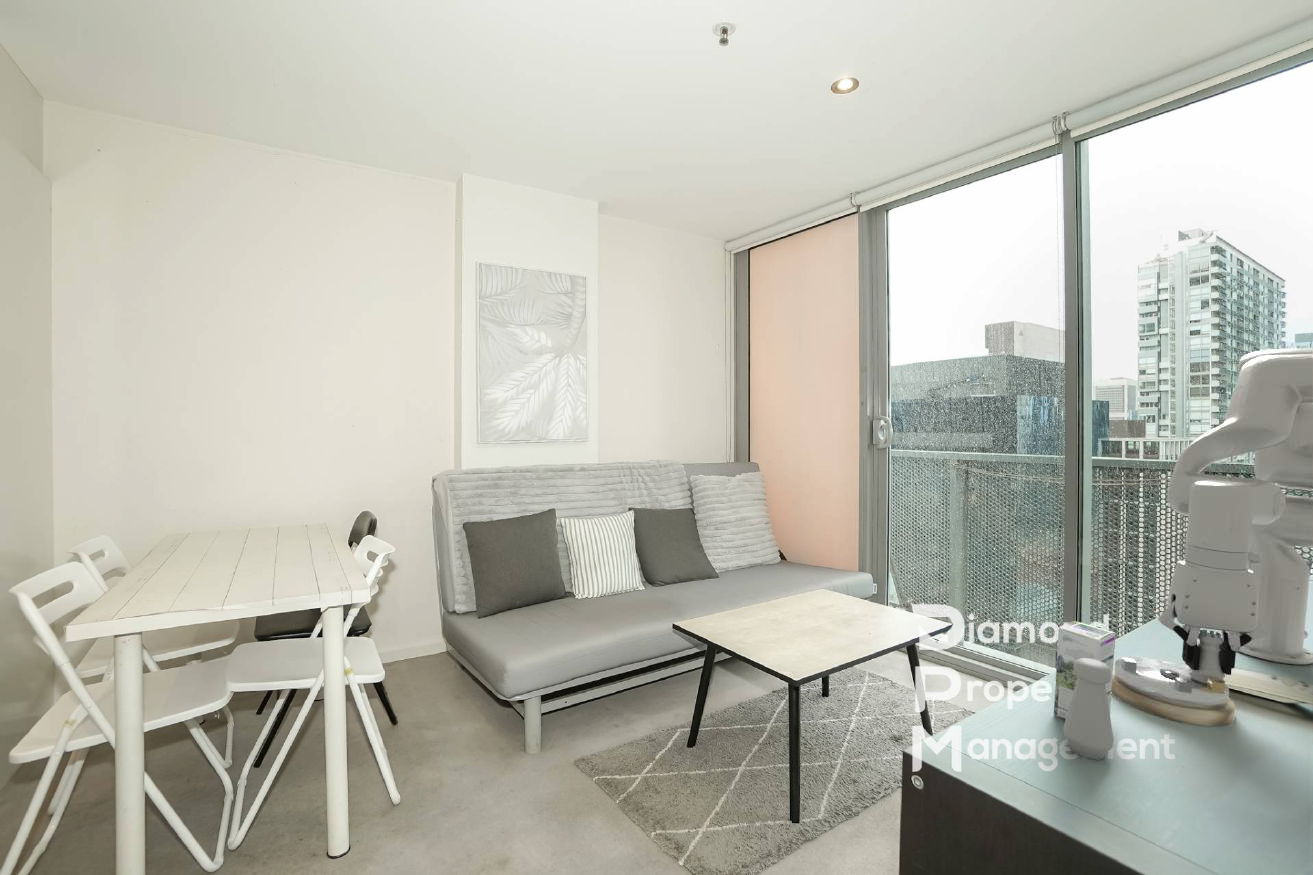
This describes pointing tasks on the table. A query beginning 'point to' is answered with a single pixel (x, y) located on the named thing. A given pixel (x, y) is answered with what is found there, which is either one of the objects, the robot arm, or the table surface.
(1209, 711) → the tan flat disc
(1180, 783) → the table surface
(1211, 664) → the rook chess piece
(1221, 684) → the white round board
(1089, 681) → the salt shaker
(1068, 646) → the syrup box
